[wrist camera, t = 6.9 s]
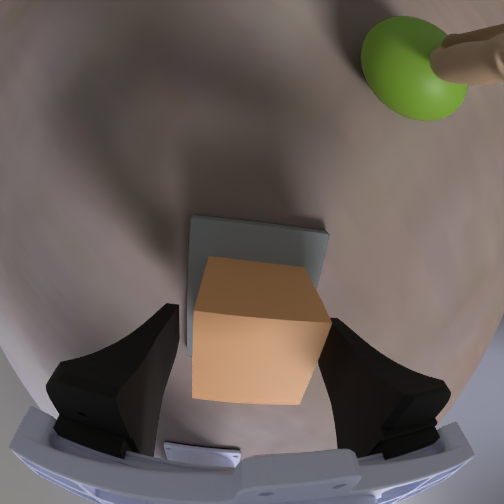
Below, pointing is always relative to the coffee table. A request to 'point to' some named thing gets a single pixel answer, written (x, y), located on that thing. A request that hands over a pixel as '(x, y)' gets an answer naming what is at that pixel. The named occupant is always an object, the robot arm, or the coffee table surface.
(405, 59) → the snail figurine
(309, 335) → the cube
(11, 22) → the coffee table surface
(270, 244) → the mat
